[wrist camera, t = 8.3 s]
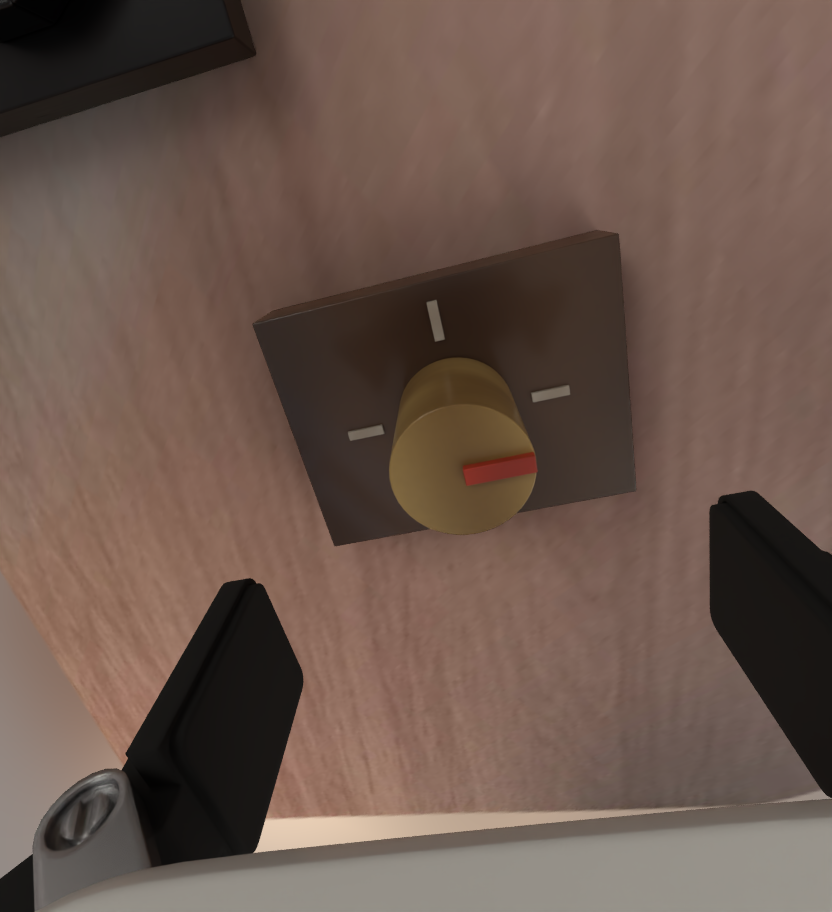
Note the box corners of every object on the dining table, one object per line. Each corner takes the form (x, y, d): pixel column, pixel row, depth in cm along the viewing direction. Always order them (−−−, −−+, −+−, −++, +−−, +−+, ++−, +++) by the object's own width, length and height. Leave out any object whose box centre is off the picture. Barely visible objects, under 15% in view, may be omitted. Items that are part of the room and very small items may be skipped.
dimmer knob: (414, 473, 21) (408, 551, 16) (386, 371, 19) (370, 426, 15) (521, 452, 21) (548, 526, 16) (503, 344, 19) (527, 392, 14)
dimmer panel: (343, 516, 25) (333, 549, 23) (271, 311, 21) (250, 324, 19) (617, 463, 24) (638, 493, 21) (598, 229, 19) (620, 233, 17)
